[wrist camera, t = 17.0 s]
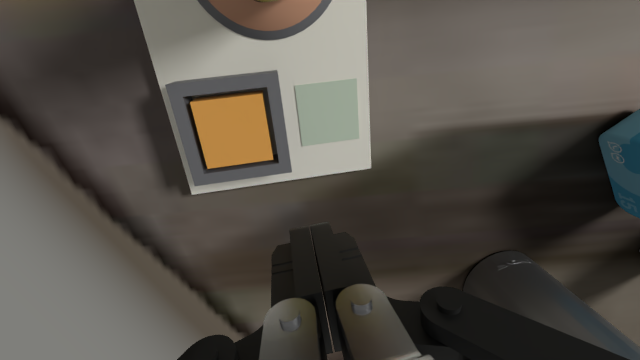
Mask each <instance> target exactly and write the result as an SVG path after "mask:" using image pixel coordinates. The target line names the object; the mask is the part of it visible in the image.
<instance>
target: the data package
mask: <svg viewBox="0 0 640 360" xmlns="http://www.w3.org/2000/svg"><path fill="white" fill-rule="evenodd" d="M599 144H600V148H601V151H602V155H603V158H604V162H605V165H606V169H607V172H608V176H609V179H610V183H611V186H612V189H613V193H614V196H615V200H616V202H617V203H618V205H619V206H620V207H621V208H622V209H624V210H625V211H626V212H628V213H630V214H632V215H634V216H636V217H638V218H640V109H639V110H637V111H636V112H634V113H633V114H631V115H629V116H628V117H626V118H625V119H623V120H622V121H620V122H619V123H617V124H616V125H614V126H613V127H611V128H610V129H608V130H607V131H605V132H604V133H602V134H601V135H600V136H599Z"/></svg>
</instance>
